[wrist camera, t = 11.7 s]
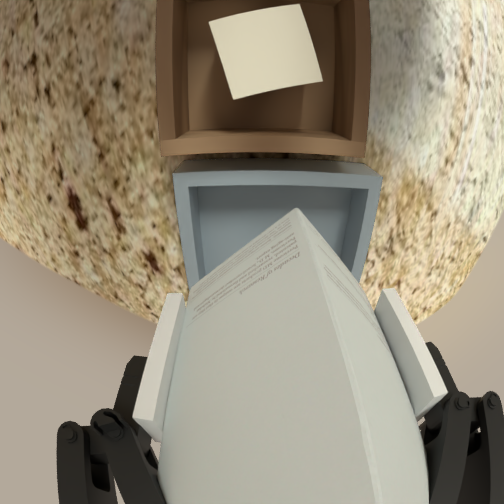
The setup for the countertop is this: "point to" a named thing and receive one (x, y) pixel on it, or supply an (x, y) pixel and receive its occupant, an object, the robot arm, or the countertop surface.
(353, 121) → the walnut box
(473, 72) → the countertop surface
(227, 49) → the cream cube
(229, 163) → the grey tray
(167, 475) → the supplement box
